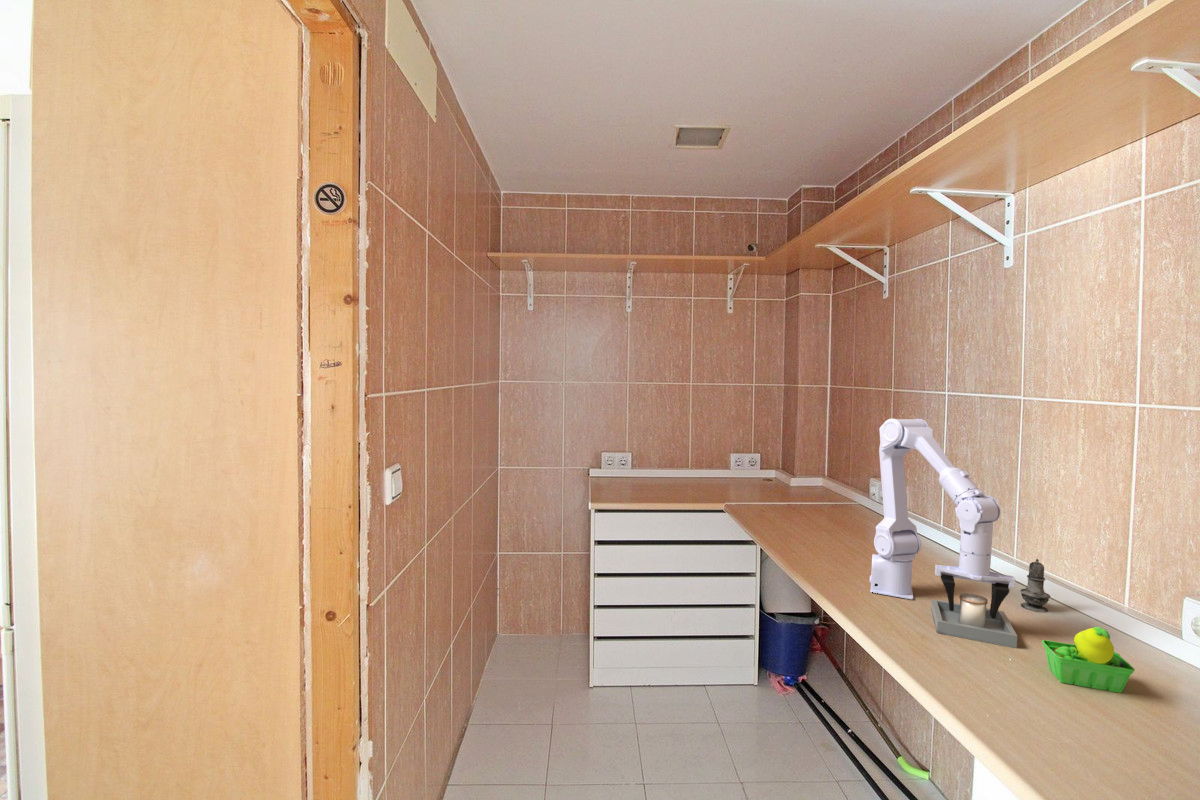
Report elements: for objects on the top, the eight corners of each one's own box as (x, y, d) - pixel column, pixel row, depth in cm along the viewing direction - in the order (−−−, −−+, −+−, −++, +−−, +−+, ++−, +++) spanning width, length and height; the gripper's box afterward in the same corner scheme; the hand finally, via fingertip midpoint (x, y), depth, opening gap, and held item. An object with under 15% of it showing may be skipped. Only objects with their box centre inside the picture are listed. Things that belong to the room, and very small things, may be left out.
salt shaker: (1055, 614, 134) (1058, 563, 134) (1026, 611, 135) (1029, 561, 135) (1041, 604, 140) (1044, 556, 139) (1014, 601, 141) (1017, 553, 141)
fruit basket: (1112, 677, 106) (1116, 617, 105) (1139, 702, 97) (1144, 637, 97) (1038, 665, 110) (1042, 607, 109) (1058, 688, 101) (1062, 626, 101)
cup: (958, 625, 125) (959, 598, 124) (957, 617, 129) (958, 591, 129) (986, 631, 122) (988, 603, 122) (985, 622, 127) (986, 596, 126)
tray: (936, 632, 122) (937, 621, 122) (931, 609, 135) (931, 598, 135) (1016, 648, 116) (1017, 636, 116) (1003, 622, 129) (1003, 611, 129)
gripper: (938, 551, 124) (935, 612, 125) (1020, 562, 118) (1015, 627, 119) (935, 542, 131) (932, 601, 131) (1012, 553, 124) (1008, 614, 125)
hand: (971, 613), depth 125 cm, fingers open, 7 cm apart
